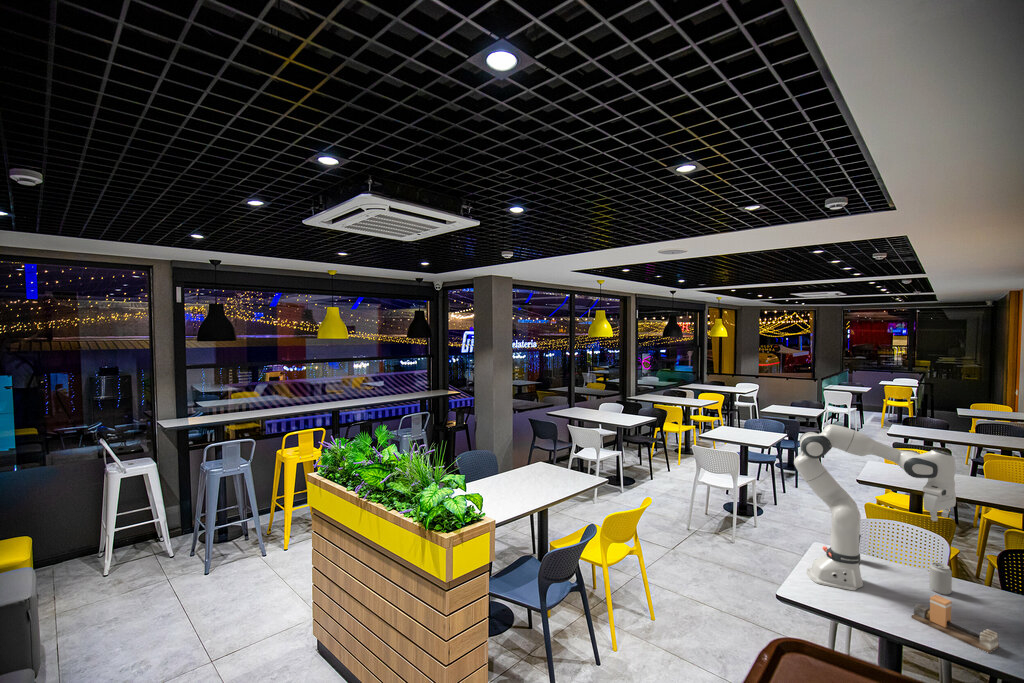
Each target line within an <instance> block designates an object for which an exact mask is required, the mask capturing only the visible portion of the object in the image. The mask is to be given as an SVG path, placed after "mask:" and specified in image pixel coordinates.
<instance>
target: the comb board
mask: <svg viewBox="0 0 1024 683" xmlns="http://www.w3.org/2000/svg"><path fill="white" fill-rule="evenodd" d="M910 617H911V619H913V620H915V621H918V622H919V623H921V624H924V625H926V626H928V627H931V629H934V630H936V631H939V632H941V633H943V634H945V635H947V636H949V637H952V638H954V639H956V640H958V641H961V642H963V643H965V644H968V645H969V646H972V647H974V648H976V649H978V648H979V649H978V650H980V649H981V650H980V651H982V650H984V651H986V652H985V653H987V652H988V653H987V654H991V653H992V652H994V651H995V650H994V649H996V648H997V649H999V648H1000V644H999V635H998V634H999V633H997V632H995V631H994V630H990V629H988V628H986V629H985V630H982V631H981V632H980V633H976V632H974V631H971V630H969V629H967V628H964V627H962V626H960V625H958V624H957V623H956V624H955V623H953V622H952V621H951V622H949V621H947V627H946V628H945V627H943V626H941V625H938V624H936V623H934V622H932V621H930V607H928V606H926V605H924V604H921V603H918V604H915V605H914V606H913V614H912V615H911V616H910ZM998 647H999V648H998ZM997 649H996V650H997ZM993 650H994V651H993ZM984 651H983V652H984ZM991 651H992V652H991ZM990 652H991V653H990Z"/></svg>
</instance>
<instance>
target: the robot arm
mask: <svg viewBox="0 0 1024 683" xmlns="http://www.w3.org/2000/svg"><path fill="white" fill-rule="evenodd" d="M799 447H800V452H801V453H800V454H799V455H796V457H795V459H794V460H793V465H794V467H795V469H796V470H797V472H798V473H799V475H800V476H801V478H802V479H803V480H804V482H805V483H806V485H808V487H809V488H810V489H811V490H812V491H813V493H814V494H815V495H816V496H817V497H818V498H820V500H821V501H822V502H824V504H825V505H826V506H827V507H828V508H829V509H830V512H831V526H830V547H829V548H828V547H827V546H825V545H824V546H822V550H823V551H824V552H825V555H822V556H820V557H819V558H817V559H815V560H813V562H812V565H811V567H808V568H806V574H807V576H808V577H809V579H810V580H811V581H813V582H815V583H816V584H819V585H822V586H823V585H824V586H827V587H833V588H838V589H844V590H850V591H856V590H858V589H859V588H862V587H863V586H864V582H863V579H862V574H861V568H860V566H861V561H862V560H861V553H860V544H859V535H861V534H860V532H861V523H862V522H861V521H862V519H861V518H862V517H861V512H860V510H859V507H858V504H857V502H856V501H855V500H854V499H853V497H852V496H850V494H849V493H848V492H847V491H846V490H845V489H844V488H843V487H842V486H841V485H840V484H839V483H838V482H837V481H836V479H835V478H834V477H833V476H832V474H830V472H829V471H828V470H827V469H826V467H825V466H824V465H823V464H822V462H821V461H820V459H821V458H823V457H825V456H826V455H827V454H828V452H829V451H831V450H832V448H834V449H838V450H840V451H843V452H845V453H848V454H850V455H855V456H859V457H865V456H869V455H870V456H871V455H872V456H875V457H879V458H883V459H885V460H887V461H890V462H892V463H894V464H897V466H898V467H900V468H901V469H902V470H903V471H904V472H905V473H906V475H908V476H910V477H912V478H914V479H927V482H926V484H925V485H924V486H922V492H923V497H922V498H923V499H922V500H923V509H924V510H925V511H927V512H929V514H930V520H931V521H932V522H938V521H939V520H938V519H939V517H938V512H941V511H942V512H941V517H942V518H949V513H950V511H951V508H953V507H956V503H957V500H956V498H957V496H956V495H957V494H956V488H955V486H956V481H955V475H956V466H957V465H956V460H955V456H953V455H952V454H950V453H949V452H946V451H944V450H939V449H931V450H930V451H927V452H924V453H920V452H918V451H916V450H912V449H899V448H896V447H892V446H890V445H886V444H884V443H881V442H878V441H877V440H875V439H874V438H872V437H870V436H868V435H866V434H865V433H863V432H860V431H858V430H855V429H852V428H849V427H846V426H842V425H838V424H828V425H826V426H825V427H824V428H823V430H822V431H821V432H820V433H819V432H816V431H813V430H812V431H811V430H810V431H806V432H804V433H802V434H801V435H800V437H799Z"/></svg>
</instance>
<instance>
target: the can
mask: <svg viewBox="0 0 1024 683" xmlns="http://www.w3.org/2000/svg"><path fill="white" fill-rule="evenodd" d="M928 572H929V581H928V582H929V588H930V589H931V591H933V592H935V593H937V594H940V595H944V596H945V595H947V596H948V595H950V594H952V593H953V592H952V587H953V585H952V583H953V580H952V579H953V576H952V574H953V571H952V570H951V567H950V566H949V565H947V564H944V563H942V562H931V563H930V565H929V571H928Z"/></svg>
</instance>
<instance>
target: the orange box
mask: <svg viewBox="0 0 1024 683" xmlns="http://www.w3.org/2000/svg"><path fill="white" fill-rule="evenodd" d="M929 608H930V621H932V622H934V623H936V624H938V625H941V626H943V627H945V628H946V627H947V621H949V622H951V623H952V600H950V599H947V598H945V597H943V596H940V595H937V594H934V595H931V596H930V597H929Z"/></svg>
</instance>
